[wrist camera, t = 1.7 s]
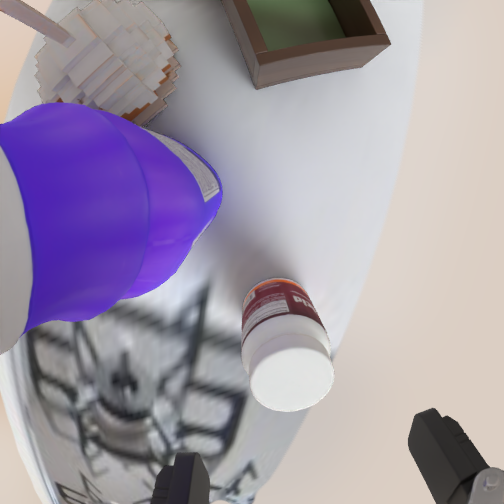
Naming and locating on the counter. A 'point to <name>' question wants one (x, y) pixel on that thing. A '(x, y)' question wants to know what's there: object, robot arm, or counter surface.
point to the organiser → (304, 37)
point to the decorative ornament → (104, 57)
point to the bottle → (92, 213)
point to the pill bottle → (284, 346)
